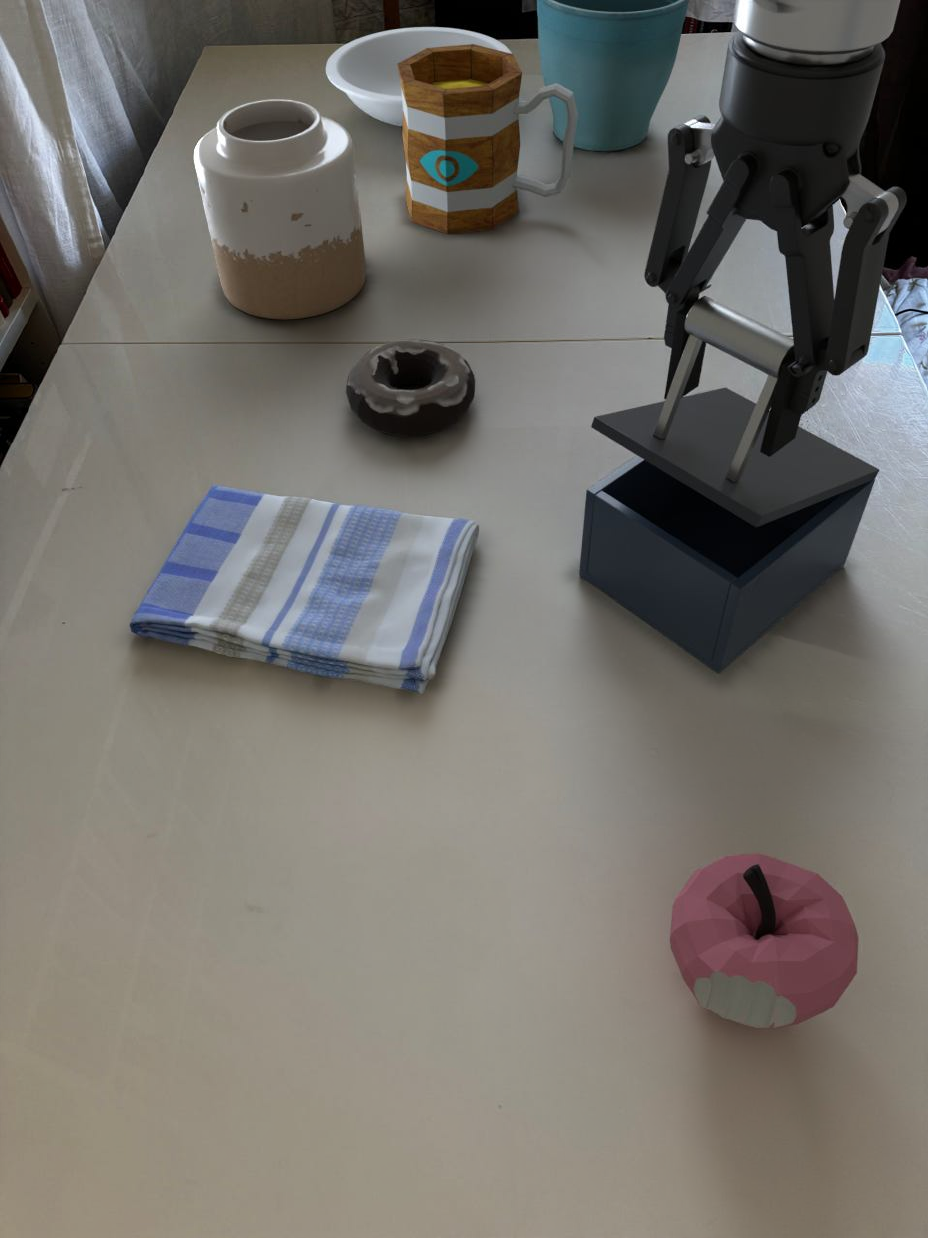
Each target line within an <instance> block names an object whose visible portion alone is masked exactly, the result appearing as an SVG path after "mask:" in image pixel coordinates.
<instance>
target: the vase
mask: <svg viewBox="0 0 928 1238" xmlns="http://www.w3.org/2000/svg"><path fill="white" fill-rule="evenodd" d="M216 125H217V126H215V127H213V128H212V129H210V130H209V131H208V132H207V133H205V134H204V135H203V136H201V138H200V140H199V141H198V142H197V144H196V146H195V148H194V153H193V161H194V167H195V172H196V177H197V181H198V186H199V190H200V195H201V200H202V205H203V209H204V214H205V218H206V222H207V223H206V224H207V227H208V231H209V232H208V233H209V236H210V240H211V245H212V249H213V255H214V259H215V264H216V269H217V272H218V277H219V280H220V286H221V289H222V292H223V295H224V296H225V298H226V299H227V300H228V302H229V303H230V304H231V305H232V306H233V307H234V308H236V309H237V310H239V311H242V312H244V313H246V314H248V315H251V316H255V317H259V318H263V319H270V320H271V319H272V320H298V319H306V318H311V317H316V316H319V315H323V314H326V313H328V312H329V313H330V312H332V311H334V310H336V309H338V308H340V307H342V306H344V305H345V304H347V303H349V302H351V301H352V300H353V299H354V298H355V297H356V296H357V295H358V294H359V293H360V291H361V290H362V288H363V287H364V285H365V282H366V278H367V266H366V254H365V245H364V236H363V235H364V233H363V225H362V215H361V206H360V198H359V197H360V195H359V187H358V176H357V168H356V167H357V166H356V158H355V156H356V155H355V148H354V144H353V140H352V137H351V134H350V132H349V131H348V130H347V129H346V128H345V127H344V125H342V124H340V123H339V122H337V121H335V120H333V119H331V118H329V117H326V116H323V115H321V113H320V112H319V111H318V110H317V109H316V108H315V107H314V106H312V105H310V104H309V103H305V102H303V101H299V100H295V99H284V98H274V99H273V98H272V99H271V98H270V99H262V100H261V99H260V100H255V101H250V102H247V103H243V104H241V105H238V106H235V107H233V108H231V109H230V110H228V111H226V112H225V113H224V114H223V115H222V116H221V117H220V118H219V120H218V121H217V123H216Z"/></svg>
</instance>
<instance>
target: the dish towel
mask: <svg viewBox="0 0 928 1238" xmlns="http://www.w3.org/2000/svg"><path fill="white" fill-rule="evenodd" d="M479 533H480V525H479V524H478V523H477V522H476V521H475V520H469V519H464V518H452V517H440V516H433V515H422V514H417V513H416V514H415V513H407V512H404V511H397V510H392V509H391V510H390V509H385V508H384V509H383V508H378V507H371V506H363V505H347V504H341V503H334V502H329V501H324V500H318V499H314V498H309V497H302V496H289V495H288V496H287V495H285V496H281V495H280V496H278V495H273V494H268V493H264V492H263V493H262V492H258V491H251V490H244V489H237V488H234V487H233V488H232V487H227V486H222V485H217V484H214V485H211V487H210V488H209V490H208V492H207V493H206V495H205V497H204V498H203V499H202V501H201V502H200V503H199V505H198V506H197V508H196V510H195V511H194V512H193V514H192V516H191V517H190V519H189V521H188V522H187V523H186V526H185V527H184V529H183V531H182V533H181V534H180V536H179V537H178V539H177V541H176V543H175V545H174V546H173V548H172V549H171V551H170V553H169V555H168V556H167V558H166V559H165V561H164V563H163V565H162V567H161V569H160V571H159V573H158V574H157V576H156V578H155V579H154V580H153V582H152V583H151V585H150V586H149V589H148V591H147V592H146V594H145V595H144V598H143V599H142V601H141V603H140V605H139V606H138V608H137V610H136V611H135V612H134V614H133V615H132V618H131V621H130V622H129V628H130V632H131V633H133V634H136V635H137V636H141V637H145V638H150V639H151V638H152V639H156V640H159V641H164V642H168V643H174V644H178V645H183V646H191V647H195V648H199V649H202V650H205V651H209V652H212V653H216V654H219V655H224V656H226V657H229V658H230V657H231V658H237V659H245V660H252V661H254V662H255V661H256V662H262V663H267V664H272V665H276V666H277V667H281V668H285V669H290V670H293V671H297V672H300V673H303V674H308V675H313V676H318V677H323V678H331V679H340V680H341V679H342V680H348V681H355V682H358V683H359V682H360V683H364V684H365V683H366V684H372V685H377V686H382V687H388V688H391V689H397V690H404V691H405V690H406V691H411V692H414V693H416V694H419V695H423V694H424V693H425V692H426V688H427V685H428V682H430V681H432V680H434V678H435V676H436V675H437V673H436V672H437V671H436V670H437V666H438V663H439V660H440V658H441V655H442V650H443V648H444V646H445V643H446V641H447V637H448V635H449V631H450V629H451V625H452V623H453V620H454V617H455V614H456V610H457V607H458V603H459V600H460V597H461V593H462V590H463V587H464V583H465V579H466V576H467V571H468V570H469V565H470V562H471V560H472V556H473V553H474V550H475V547H476V545H477V543H478V539H479Z"/></svg>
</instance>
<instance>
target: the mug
mask: <svg viewBox="0 0 928 1238" xmlns="http://www.w3.org/2000/svg"><path fill="white" fill-rule="evenodd" d="M511 53H512V52H511ZM511 53H507V52H503V51H499V50H495V49H491V48H487V47H483V46H479V45H475V44H469V45H457V46H445V47H433V48H426V49H424V50H422V51H420V52H418V53H417V54H415V55H413V56H411V57H409V58H407V59H405V60H403V61H401V62H400V63H398V70H399V76H400V82H401V87H402V102H403V126H402V130H401V131H402V132H401V133H402V134H401V135H402V143H403V149H404V157H405V169H406V191H405V202H406V205H407V206H406V207H407V211H408V213H409V218H410V222H411V223H415V224H418V225H420V226H423V227H426V228H429V229H432V230H434V231H437V232H441V233H443V234H446V235H453V234H454V235H455V234H463V233H471V232H472V233H475V232H484V231H493V230H495V229H496V228H498V227H500V225H502V224H503V223H505V222H506V221H507V220H509V219H510V218H511V217H513V216H514V215H516V214H517V213H518V212H520V206H519V196H518V190H522V191H525V192H529V193H532V194H535V195H538V196H540V197H543V198H548V197H551V196H554V195H558V194H561V192H562V190H564V187H565V186H566V184H567V182H568V181H569V180H570V178H571V171H572V167H573V166H572V165H573V158H574V157H573V155H574V146H573V145H574V136H575V131H576V125H577V119H578V112H577V108H576V104H575V100H574V96H573V92H572V91H570V90H568V89H566V88H564V87H563V86H561V85H559V84H557V83H556V84H552V85H549V86H546V87H545V86H543V87H540V88H538V90H537V91H536V92H535V93H534V94H533V95H532V96H531V97H530V98H529V99H527V100H520V92H521V85H522V78H523V72H522V69H521V67H520V66H519V63H518V61H517V59H516V57H515V55H514V54H513V53H512V54H511ZM553 96H555V97H557V98H558V99H560V100H562V101H564V102H566V108H567V115H568V120H567V125H566V129H565V134H564V138H563V141H562V152H561V153H562V154H561V168H560V174H559V175H558V178H557V179H556V181H555V182H552V183H548V184H547V183H544V182H542V181H540V180H538V179H536V178H532V177H529V176H525V175H521V174H518V168H519V160H520V152H521V138H520V137H521V136H520V135H521V133H520V120H519V115H527V114H529V113H531V112H533V111H534V110H535V109H537V107H539V105H540V104H541V103H543V102H544V101H545V100H548V99H549V98H550V97H553Z"/></svg>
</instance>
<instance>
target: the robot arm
mask: <svg viewBox="0 0 928 1238" xmlns="http://www.w3.org/2000/svg"><path fill="white" fill-rule="evenodd" d="M900 3H901V0H735V3H734V10H733V16H732V20H733V23H734V25H735V27H736V28H737V29H738V30H737V31H736V32H735V33H734V34H733V36H732V37H730V39H729V40H728V44H727V48H726V49H727V50H726V51H727V52H726V54H725V55H726V57H725V63H724V69H723V76H722V81H721V87H720V93H719V99H718V107H719V108H718V109H719V112H720V114H721V115H720V118H718V121H717V122H716V123H714V122H711V121H710V118H709V117H707V115H705V114H704V115H703V114H701V115H697V116H696V117H693V118H692V119H689V120H688V121H685V122H683V123H681V124H679V125H677V126H675V127H673V128H671V129H670V130H669V131H668V133H667V141H666V142H667V161H668V162H667V163H668V171H667V174H666V175H667V176H666V180H665V184H664V189H663V193H662V197H661V201H660V206H659V210H658V214H657V219H656V223H655V226H654V231H653V235H652V240H651V244H650V248H649V252H648V256H647V260H646V265H645V269H644V276H643V277H644V281H645V283H646V284H647V285H648V286H649V287H651V288H656V287H658V288H659V289H660V290H661V291H662V292H663V293H664V294H665V301H666V303H667V304H668V305H667V311H666V312H667V313H666V319H665V327H664V329H665V330H664V334H663V341H664V345H665V347H668V348H670V349H671V351H670V357H669V363H668V364H669V365H668V370H667V375H666V376H667V377H666V382H665V390H664V396H663V398H664V400H666V398H667V395H668V392H669V389H670V387H671V384H672V381H673V378H674V376H675V373H676V370H677V367H678V365H679V362H680V359H681V356H682V354H683V351H684V348H685V345H686V343H687V340H688V337H689V335H690V334H688V333H687V332H686V331H685V320H686V317H687V314H688V312H689V310H690V308H691V307H692V306H693V304H694V303H695V302H696V301H697V300H698V299H700V298H702V297H708V298H710V299H712V300H714V299H713V298H711V297H709V296H707V295H703V296H701V297H700V294H701V293H703V292H705V291H707V290H708V289H710V288H711V287H712V284H709V282H710V281H711V280H712V278H713V276H714V274H715V273H716V271H717V269H718V268H719V266H720V264H721V263H722V261H723V259H725V256H726V254H727V252H728V251H729V249H730V248H731V246H732V244H733V243H734V241H735V239H736V238H737V236H738V234H739V232H740V231H741V230H742V228H743V226H744V224H745V223H746V221H747V220H751V221H759V222H761V223H762V224H764V225H765V226H766V227H768V228H769V229H770V230H772V231H774V232H776V236H777V237H776V239H777V247H778V251H779V254H781V255H783V256H784V258H785V259H784V260H785V269H786V280H787V289H788V290H787V291H788V299H789V309H790V319H791V320H790V321H791V330H792V331H791V332H792V339H793V342H794V352H795V355H794V356H792V357H791V358H789V359H788V360H787V361H785V362H784V363H782V364H781V368H780V372H779V376H778V380H777V384H776V388H775V392H774V396H773V400H772V405H771V408H770V410H769V411H770V413H769V417H768V421H767V425H766V429H765V433H764V437H763V441H762V445H761V449H760V452H761V453H763V454H765V455H767V456H769V457H771V456H772V455H773V454H775V453H776V452H777V451H779V450H780V449H781V448H783V447H784V446H785V445H787V444H788V443H789V442H791V441H792V440H793V439H795V437H796V433H797V430H798V426H799V427H800V422H801V418H802V415H803V414H805V413H806V412H808V411H809V410H810V409H812V408H813V407H815V406H816V405H817V403H818V402H819V401H820V400H821V396H822V392H823V388H824V385H825V382H826V379H827V374H828V373H829V374H830V375H832V376H837V377H838V376H840V375H843V373H844V372H846V371H847V370H849V369H850V368H852V367H853V366H855V364H857V363H858V362H860V361H861V360H863V359H864V358H865V357H867V356H868V353H869V349H870V343H871V337H872V332H873V327H874V321H875V316H876V310H877V303H878V299H879V293H880V288H881V283H882V276H883V271H884V267H885V266H884V265H885V260H886V254H887V249H888V243H889V238H890V233H891V231H892V229H893V227H894V226H895V225H896V222H897V221H898V219H899V217H900V215H901V213H902V212H903V210H904V208H905V207H906V204H907V201H908V199H907V197H908V196H907V194H906V192H905V190H904V189H903V188H902V187H899V186H892V187H890V188H888V189H887V190H884V189H882V188H881V187H880V186H878V185H876V183H874V182H872V181H870V180H869V179H868V178H867V177H865V176H863V175H862V163H861V158H860V144H861V139H862V137H863V135H864V133H865V130H866V127H867V125H868V122H869V119H870V116H871V112H872V109H873V104H874V100H875V97H876V94H877V89H878V87H879V83H880V78H881V75H882V71H883V68H884V63H885V59H886V50H885V49H884V47H883V45H882V42H884V41H885V40H886V39H888V38H889V37H891V34H892V33H893V32H894V28H895V24H896V21H897V15H898V13H899V12H898V11H899V8H900ZM714 158H715V161H716V164H717V167H718V169H719V172H720V176H721V178H722V181H723V182H722V183H721V185H720V187H719V188H718V190H717V192H716V194H715V196H714V197H713V200H712V201H711V203H710V205H709V207H708V208H707V211H706V215H707V217H706V220H705V221H704V223H703V225H702V226H701V228H700V230H699V232H698V234H697V235H696V237H695V239H694V241H693V243H692V245H691V242H692V239H693V235H694V232H695V229H696V223H697V221H698V216H699V213H700V209H701V205H702V201H703V197H704V194H705V190H706V188H707V183H708V179H709V176H710V171H711V167H712V160H713V159H714ZM841 199H843V200H844V203H846V213H845V218H844V219H843V222H842V223H843V226H844V228H846V229H847V233H846V234H845V238H844V240H843V244H842V248H841V252H840V253H841V254H840V260H839V267H838V273H837V281H836V287H835V290H834V278H833V277H834V275H833V264H832V263H833V262H832V250H831V239H832V236H833V235H834V232H835V219H834V218H835V217H834V205H835V204H836V203H838V202H839V201H840V200H841ZM834 292H835V293H834ZM706 347H707V343H705V342H704V341H702V343H701V346H700V349H699V352H698V354H697V357H696V360H695V362H694V365H693V368H692V370H691V373H690V376H689V378H688V381H687V384H686V386H685V389H684V392H683V394H682V397H685V396H687V395H688V394H689V393H691V392H692V391H694V390H695V389H697V388H698V387H699V386H700V380H701V375H702V371H703V365H704V357H705V353H706ZM682 397H681V398H682Z"/></svg>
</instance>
